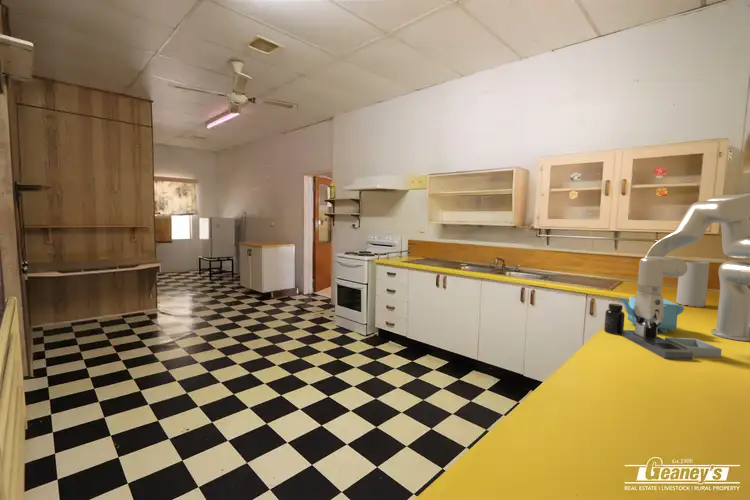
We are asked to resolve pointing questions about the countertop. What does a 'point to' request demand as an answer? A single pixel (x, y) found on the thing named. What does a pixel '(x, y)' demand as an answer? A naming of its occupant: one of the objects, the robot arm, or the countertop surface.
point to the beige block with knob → (642, 330)
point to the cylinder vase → (693, 284)
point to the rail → (659, 346)
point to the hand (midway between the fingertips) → (645, 334)
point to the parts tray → (696, 347)
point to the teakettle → (667, 323)
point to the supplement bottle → (614, 319)
